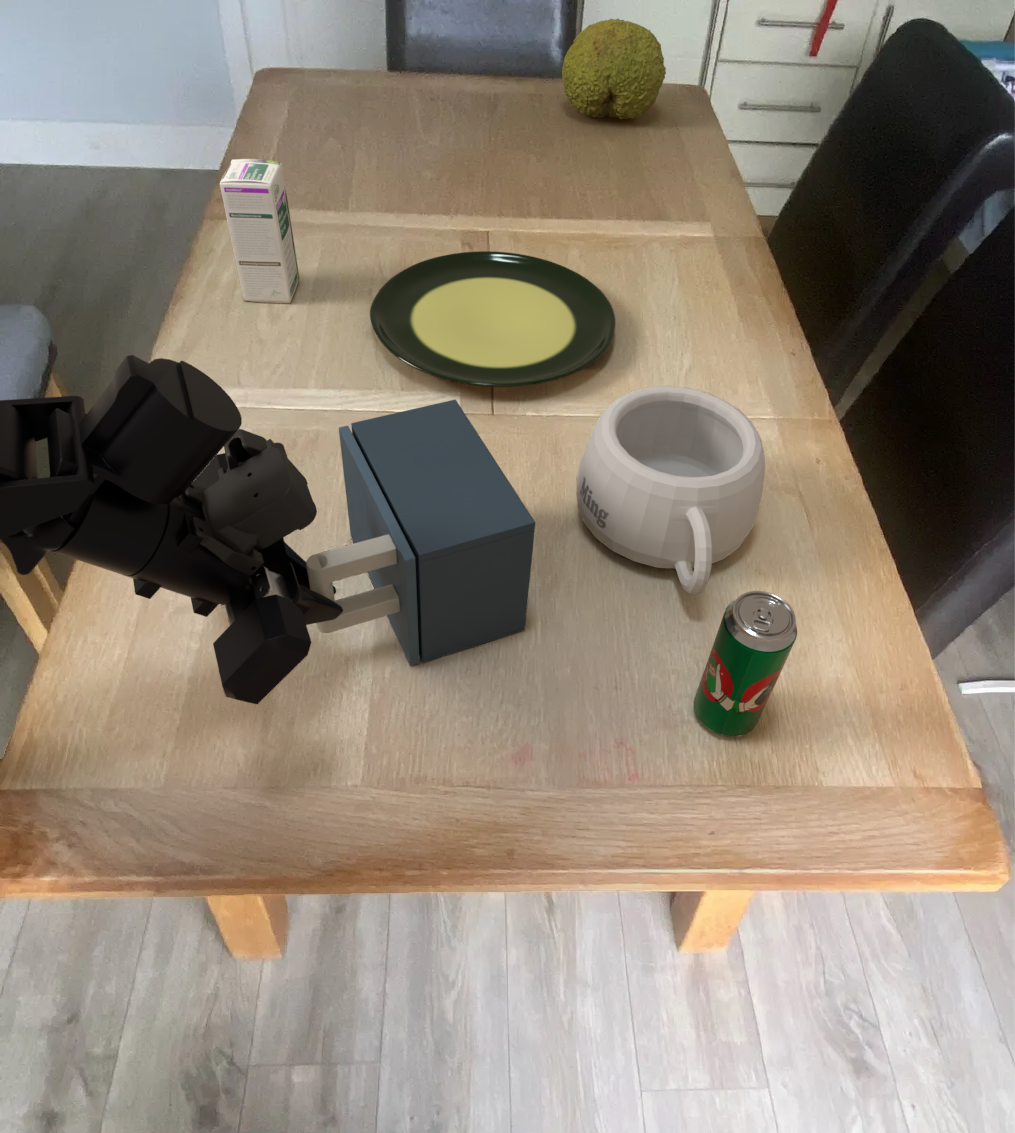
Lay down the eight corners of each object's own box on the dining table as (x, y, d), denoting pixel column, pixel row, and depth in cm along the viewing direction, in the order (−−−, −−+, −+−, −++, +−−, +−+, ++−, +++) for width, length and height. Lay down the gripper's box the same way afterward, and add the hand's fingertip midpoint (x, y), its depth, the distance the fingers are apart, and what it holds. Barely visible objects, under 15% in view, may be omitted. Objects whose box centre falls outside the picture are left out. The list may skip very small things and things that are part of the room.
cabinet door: (332, 691, 70) (315, 585, 61) (280, 554, 79) (259, 445, 70) (419, 663, 72) (415, 557, 63) (359, 533, 81) (348, 425, 72)
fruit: (580, 139, 142) (554, 33, 136) (572, 138, 155) (548, 41, 149) (681, 104, 141) (659, -5, 134) (664, 106, 154) (643, 7, 147)
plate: (662, 361, 102) (666, 342, 100) (444, 433, 92) (444, 413, 90) (531, 249, 118) (533, 231, 116) (332, 300, 107) (331, 280, 106)
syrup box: (291, 304, 106) (274, 182, 96) (241, 302, 106) (218, 179, 95) (300, 279, 110) (284, 159, 100) (251, 277, 110) (230, 156, 99)
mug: (563, 457, 90) (573, 373, 83) (727, 455, 91) (751, 373, 84) (592, 625, 75) (607, 542, 68) (786, 620, 77) (822, 538, 70)
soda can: (761, 697, 71) (805, 598, 63) (752, 749, 68) (797, 652, 59) (698, 678, 72) (733, 578, 64) (686, 728, 69) (721, 630, 60)
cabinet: (422, 663, 72) (418, 555, 63) (361, 533, 81) (350, 422, 72) (524, 630, 75) (535, 522, 66) (454, 508, 84) (455, 398, 75)
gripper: (249, 551, 47) (450, 629, 58) (196, 352, 58) (372, 450, 70) (129, 680, 50) (341, 731, 62) (101, 469, 62) (283, 544, 73)
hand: (335, 603), depth 66 cm, fingers closed on cabinet door, 2 cm apart
